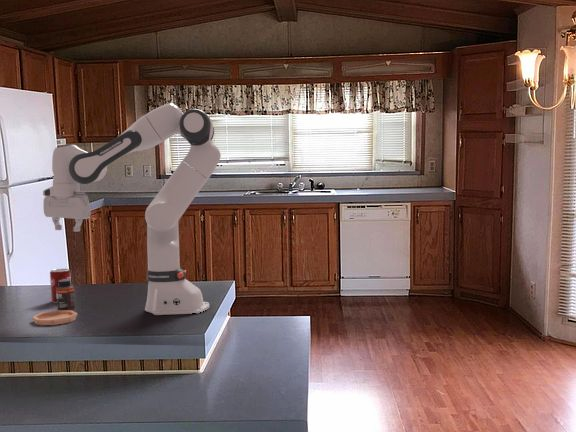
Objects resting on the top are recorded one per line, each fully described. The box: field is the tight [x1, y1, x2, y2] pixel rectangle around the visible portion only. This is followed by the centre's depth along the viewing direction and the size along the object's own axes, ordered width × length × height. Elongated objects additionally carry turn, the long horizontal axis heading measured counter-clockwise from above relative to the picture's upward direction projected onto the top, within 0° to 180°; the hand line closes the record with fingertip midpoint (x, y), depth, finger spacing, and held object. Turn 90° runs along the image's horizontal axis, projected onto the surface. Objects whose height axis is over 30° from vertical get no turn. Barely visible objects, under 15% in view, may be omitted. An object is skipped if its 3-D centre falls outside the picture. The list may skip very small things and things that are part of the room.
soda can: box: [49, 268, 72, 304], centre depth 230 cm, size 7×7×12 cm
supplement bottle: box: [56, 279, 76, 312], centre depth 213 cm, size 6×6×11 cm
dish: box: [32, 309, 78, 326], centre depth 202 cm, size 13×13×2 cm
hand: (67, 230), depth 214 cm, fingers open, 8 cm apart
